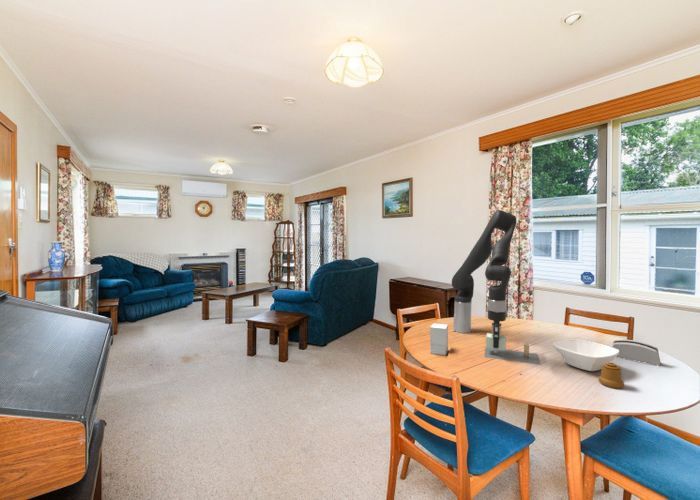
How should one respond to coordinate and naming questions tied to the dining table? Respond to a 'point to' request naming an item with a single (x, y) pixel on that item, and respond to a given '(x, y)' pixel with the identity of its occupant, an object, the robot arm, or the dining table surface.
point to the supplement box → (439, 339)
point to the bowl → (585, 353)
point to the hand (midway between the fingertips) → (495, 345)
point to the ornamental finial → (611, 376)
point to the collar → (501, 341)
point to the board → (513, 355)
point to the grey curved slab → (637, 351)
